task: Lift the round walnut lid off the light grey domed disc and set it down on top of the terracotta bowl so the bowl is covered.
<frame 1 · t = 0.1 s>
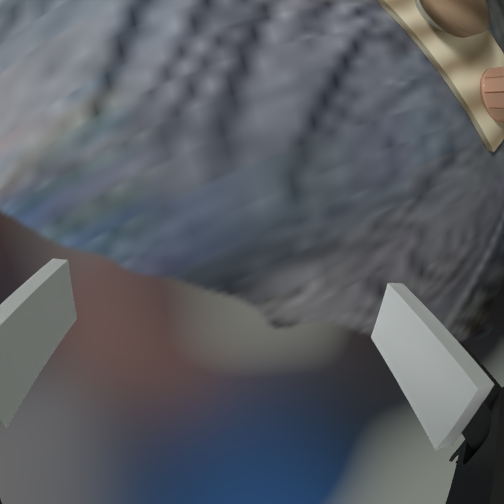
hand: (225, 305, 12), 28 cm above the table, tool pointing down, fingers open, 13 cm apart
light grey domed disc: (437, 7, 28), resting on serving board
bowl: (498, 95, 33), resting on serving board
lid: (448, 2, 25), point 4 cm above the table, touching light grey domed disc
serving board: (465, 53, 32), on the table
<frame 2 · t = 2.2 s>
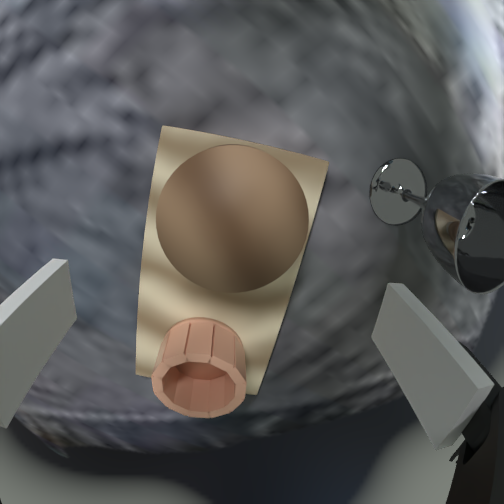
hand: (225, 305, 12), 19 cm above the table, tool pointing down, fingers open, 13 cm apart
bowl: (202, 351, 34), resting on serving board
lid: (232, 213, 25), point 4 cm above the table, touching light grey domed disc
wine glass: (398, 192, 30), on the table
serving board: (215, 279, 32), on the table
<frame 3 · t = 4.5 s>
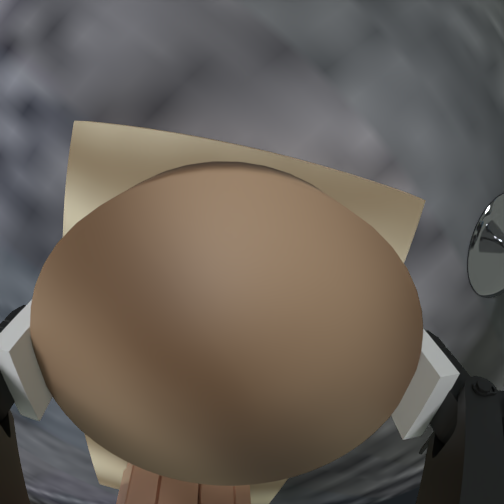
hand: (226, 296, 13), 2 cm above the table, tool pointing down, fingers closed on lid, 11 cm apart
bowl: (186, 476, 19), resting on serving board
lid: (225, 331, 10), point 4 cm above the table, touching gripper, light grey domed disc
wine glass: (503, 245, 15), on the table
serving board: (201, 396, 17), on the table
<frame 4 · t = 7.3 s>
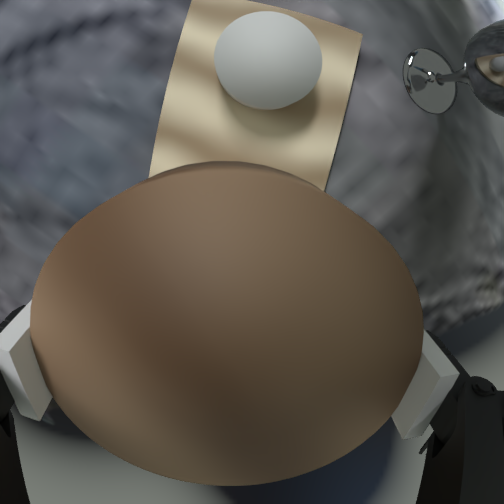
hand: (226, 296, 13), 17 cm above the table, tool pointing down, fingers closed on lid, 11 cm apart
light grey domed disc: (265, 64, 23), resting on serving board
lid: (225, 331, 10), point 19 cm above the table, touching gripper
wine glass: (430, 80, 25), on the table
serving board: (242, 155, 27), on the table
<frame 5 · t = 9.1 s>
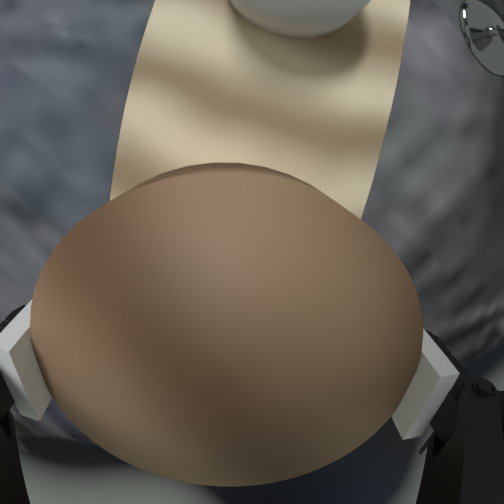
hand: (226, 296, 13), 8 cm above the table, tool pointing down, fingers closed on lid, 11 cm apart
lid: (225, 332, 10), point 10 cm above the table, touching gripper
wine glass: (488, 36, 15), on the table
serving board: (259, 104, 17), on the table
when the fingers open (6 cm above the table, at t = 10.4 s): lid drops 1 cm, resting on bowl.
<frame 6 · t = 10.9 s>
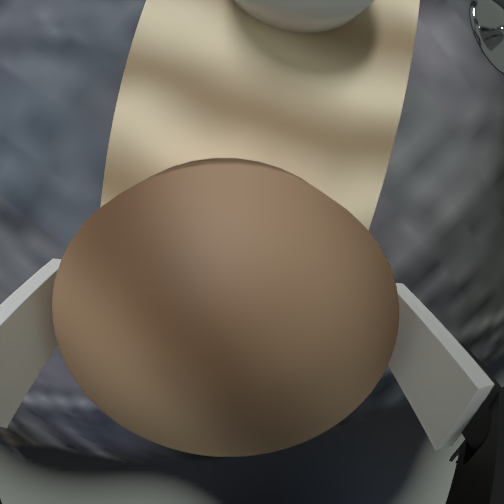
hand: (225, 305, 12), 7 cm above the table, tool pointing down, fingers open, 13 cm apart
lid: (224, 309, 12), point 7 cm above the table, touching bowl
wine glass: (499, 35, 14), on the table
serving board: (260, 104, 16), on the table
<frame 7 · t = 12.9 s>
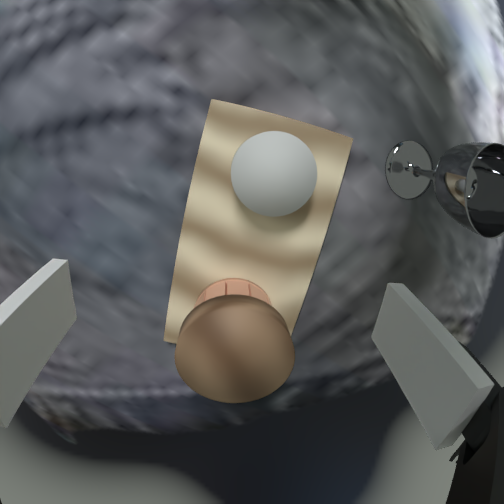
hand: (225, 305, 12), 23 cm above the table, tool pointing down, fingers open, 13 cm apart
light grey domed disc: (270, 171, 31), resting on serving board
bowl: (233, 313, 36), resting on serving board
lid: (234, 343, 31), point 7 cm above the table, touching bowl
wine glass: (409, 169, 34), on the table
serving board: (250, 243, 35), on the table
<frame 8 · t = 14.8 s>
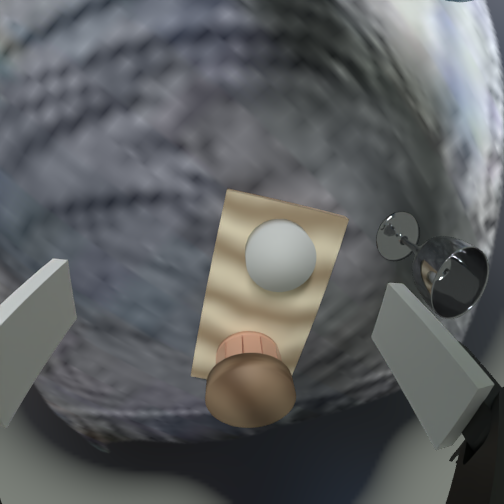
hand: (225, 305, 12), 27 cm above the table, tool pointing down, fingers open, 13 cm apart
light grey domed disc: (278, 250, 39), resting on serving board
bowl: (247, 356, 44), resting on serving board
lid: (249, 384, 38), point 7 cm above the table, touching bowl
wine glass: (398, 236, 41), on the table
serving board: (260, 302, 43), on the table
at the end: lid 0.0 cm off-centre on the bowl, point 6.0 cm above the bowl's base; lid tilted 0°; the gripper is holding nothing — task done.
